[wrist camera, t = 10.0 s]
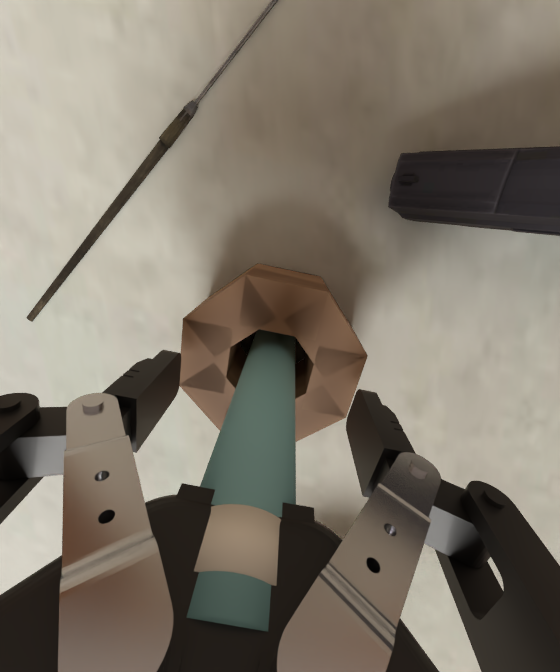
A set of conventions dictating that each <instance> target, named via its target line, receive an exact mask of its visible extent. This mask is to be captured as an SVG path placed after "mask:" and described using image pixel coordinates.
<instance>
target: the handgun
mask: <svg viewBox="0 0 560 672" xmlns="http://www.w3.org/2000/svg"><path fill="white" fill-rule="evenodd" d="M388 207H390V208H391V209H393V210H394V211H396V212H398V213H399V214H400V215H401V216H402V217H403V218H405V219H408V220H412V221H419V222H430V223H440V224H451V225H461V226H469V227H479V228H490V229H501V230H512V231H516V232H525V233H536V234H546V235H557V236H560V147H534V148H509V149H483V150H456V151H428V152H419V153H401V155H400V158H399V160H398V163H397V167H396V171H395V173H394V175H393V178H392V181H391V187H390V196H389V206H388Z"/></svg>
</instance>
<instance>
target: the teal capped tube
mask: <svg viewBox="0 0 560 672" xmlns="http://www.w3.org/2000/svg"><path fill="white" fill-rule="evenodd" d="M200 487H204V488H209V489H215V492H214V496H213V499H212V502H211V504H212V505H215V506H212V507H211V514H210V517H209V521H208V524H207V528H206V531H205V534H204V538H203V541H202V545H201V548H200V551H199V555H198V558H197V562H196V565H195V569H194V571H195V572H199V574H198V578H197V581H196V585H195V588H194V592H193V596H192V599H191V603H190V607H189V610H188V614H187V617H186V618H192V619H198V620H204V621H209V622H215V623H221V624H227V625H233V626H238V627H244V628H250V629H256V630H261V631H267V632H268V627H269V612H270V597H271V585H274V586H276V585H277V565H278V546H279V526H280V522H281V519H280V518H278V517H282V504H283V502H284V503H290V504H295V505H296V464H295V336H290V335H285V334H280V333H275V332H270V331H265V330H261V329H259V330H257V332H256V334H255V337H254V340H253V342H252V345H251V348H250V351H249V353H248V356H247V359H246V362H245V364H244V367H243V370H242V373H241V375H240V378H239V381H238V384H237V386H236V389H235V392H234V395H233V397H232V400H231V403H230V406H229V408H228V411H227V414H226V417H225V419H224V422H223V425H222V428H221V430H220V433H219V436H218V439H217V441H216V444H215V447H214V450H213V452H212V455H211V458H210V461H209V463H208V466H207V469H206V472H205V474H204V477H203V480H202V483H201V485H200Z"/></svg>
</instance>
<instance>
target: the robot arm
mask: <svg viewBox="0 0 560 672" xmlns="http://www.w3.org/2000/svg"><path fill="white" fill-rule="evenodd" d="M180 371H181V354H180V353H177V352H172V351H167V350H162V351H161V352H160V353H159V354H158V355H156V356H155V357H154V358H153V359H149V358H147V359H145V360H142V361H140V362H137V363H136V364H135V365H134V366H132V367H131V368H130V369H129V371H127V372H126V373H124V374H123V376H121V377H120V378H119V379H117V380H116V381H115V382H114V383H113V384H112V385H111V386H109V387H108V388H107V389H106V390H105V391H104V392H102V393H92V394H87V395H84V396H81V397H79V398H77V399H75V400H73V401H72V402H71V403H70V404H69V405H68V407H40V406H39V400H38V398H37V397H36V396H35V395H32V394H28V393H12V394H6V395H2V396H0V524H1V523H2V522H3V521H4V520H5V518H6V517H7V516H8V515H9V514H10V513H11V512H12V511H13V510H14V509H15V508H16V506H17V505H18V504H19V503H20V502H21V501H22V500H23V499H24V498H25V497H26V496H27V494H28V493H29V492H30V491H31V490H32V489H33V488H34V487H35V486H36V485H37V484H38V482H39V481H40V480H41V479H42V478H43V477H44V476H53V475H63V534H62V555H61V556H60V557H58V558H57V559H55V560H54V561H52V562H51V563H49V564H48V565H46V566H44V567H43V568H41V569H40V570H38V571H37V572H35V573H34V574H32V575H31V576H29V577H27V578H26V579H24V580H23V581H21V582H20V583H18V584H17V585H15V586H14V587H12V588H10V589H9V590H7V591H6V592H4V593H3V594H1V595H0V672H439V671H438V669H437V668H436V667H435V665H434V664H433V663H432V661H431V660H430V659H429V657H428V656H427V654H426V653H425V652H424V650H423V649H422V648H421V646H420V645H419V643H418V642H417V641H416V639H415V638H414V637H413V635H412V634H411V633H410V631H409V630H408V628H407V627H406V626H405V624H404V623H403V622H402V620H401V619H400V616H401V613H402V610H403V607H404V603H405V600H406V597H407V594H408V591H409V588H410V585H411V582H412V579H413V576H414V573H415V570H416V567H417V564H418V560H419V557H420V554H421V551H422V548H423V545H424V544H426V545H428V546H430V547H432V548H434V549H435V551H436V554H437V556H438V559H439V561H440V564H441V567H442V569H443V572H444V574H445V577H446V580H447V582H448V585H449V588H450V590H451V593H452V595H453V598H454V601H455V603H456V606H457V608H458V611H459V614H460V616H461V619H462V622H463V624H464V627H465V629H466V632H467V635H468V637H469V640H470V642H471V645H472V648H473V650H474V653H475V656H476V658H477V661H478V663H479V666H480V669H481V671H482V672H560V566H559V564H558V563H557V562H556V560H555V559H554V558H553V556H552V555H551V553H550V552H549V551H548V549H547V548H546V547H545V545H544V544H543V543H542V541H541V540H540V538H539V537H538V536H537V534H536V533H535V532H534V530H533V529H532V528H531V526H530V525H529V523H528V522H527V521H526V519H525V518H524V517H523V515H522V514H521V513H520V511H519V510H518V509H517V507H516V506H515V505H514V503H513V502H512V501H511V500H510V499H509V498H508V497H507V496H506V495H505V494H503V493H502V492H501V491H499V490H498V489H496V488H495V487H493V486H491V485H489V484H487V483H484V482H481V481H471V482H470V483H469V484H468V486H467V487H466V489H463V488H460V487H458V486H456V485H453V484H451V483H449V482H446V481H444V480H442V479H441V476H440V473H439V472H438V470H437V469H436V468H435V466H434V465H433V464H432V463H430V462H429V461H428V460H426V459H425V458H423V457H422V456H420V455H417V454H416V453H415V451H414V450H413V448H412V446H411V444H410V442H409V440H408V438H407V436H406V434H405V433H404V432H403V429H402V427H401V425H400V424H399V421H398V419H397V417H396V416H395V414H394V413H393V412H392V411H391V410H390V409H389V408H388V407H387V406H385V405H382V403H381V401H380V399H379V397H378V395H377V393H375V392H370V391H365V390H360V389H359V390H358V391H357V392H356V395H355V398H354V400H353V403H352V406H351V409H350V412H349V414H348V417H347V422H346V431H347V435H348V439H349V443H350V447H351V451H352V455H353V459H354V463H355V467H356V471H357V475H358V479H359V483H360V487H361V491H362V495H363V496H364V497H369V500H368V501H367V503H366V504H365V506H364V507H363V509H362V511H361V512H360V514H359V515H358V517H357V519H356V520H355V522H354V523H353V525H352V526H351V528H350V530H349V531H348V533H347V534H346V536H345V537H344V539H343V541H342V540H341V539H340V538H339V537H338V536H337V535H336V534H335V533H334V532H332V531H331V530H330V529H328V528H327V527H326V526H324V525H322V524H321V523H319V522H317V521H315V520H314V508H311V507H306V506H300V505H295V504H290V503H284V502H283V504H282V517H278V518H280V519H281V522H280V526H279V546H278V565H277V585H276V586H274V585H271V597H270V612H269V627H268V632H267V631H261V630H256V629H250V628H244V627H238V626H233V625H227V624H221V623H215V622H209V621H204V620H198V619H192V618H186V617H187V614H188V610H189V607H190V603H191V599H192V596H193V592H194V588H195V585H196V581H197V578H198V574H199V572H195V571H194V569H195V565H196V562H197V558H198V555H199V551H200V548H201V545H202V541H203V538H204V534H205V531H206V528H207V524H208V521H209V517H210V514H211V507H212V506H215V505H212V504H211V502H212V499H213V496H214V492H215V489H209V488H204V487H198V486H193V485H188V484H182V485H181V487H180V489H179V491H178V494H177V495H169V496H164V497H160V498H156V499H153V500H151V501H148V502H146V503H145V501H144V497H143V493H142V489H141V484H140V480H139V476H138V472H137V467H136V463H135V459H134V455H133V452H135V453H137V451H138V450H139V448H140V447H141V445H142V444H143V443H144V441H145V440H146V438H147V437H148V435H149V434H150V433H151V431H152V430H153V428H154V427H155V425H156V424H157V423H158V421H159V420H160V418H161V417H162V415H163V414H164V413H165V411H166V410H167V408H168V407H169V405H170V404H171V403H172V401H173V400H174V398H175V397H176V395H177V392H178V389H179V384H180ZM490 557H491V558H492V559H493V561H494V563H495V565H496V567H497V569H498V570H499V572H500V574H501V577H502V580H503V585H504V591H503V590H502V588H501V586H500V584H499V583H498V581H497V579H496V577H495V575H494V573H493V571H492V569H491V567H490V565H489V564H488V562H487V561H488V559H489V558H490Z"/></svg>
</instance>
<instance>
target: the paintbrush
mask: <svg viewBox="0 0 560 672" xmlns="http://www.w3.org/2000/svg"><path fill="white" fill-rule="evenodd" d="M277 1H278V0H272V1H271V2H270V3H269V5H268V6H267V7H266V9H265V10H264V11H263V13H262V14H261V15H260V17H259V18H258V19H257V21H256V22H255V23H254V25H253V26H252V27H251V28H250V30H249V31H248V32H247V34H246V35H245V36H244V38H243V39H242V40H241V42H240V43H239V44H238V46H237V47H236V48H235V50H234V51H233V52H232V54H231V55H230V56H229V57H228V59H227V60H226V61H225V63H224V64H223V65H222V67H221V68H220V69H219V71H218V72H217V73H216V75H215V76H214V77H213V79H212V80H211V81H210V82H209V84H208V85H207V86H206V88H205V89H204V90H203V92H202V93H201V94H200V96H199V97H198V98H197V100H196V101H195V102H193V100H192V101H191V102H190V103H188V104H187V105H186V106H185V107H184V109H183V110H182V111H181V112H180V113H179V115H178V116H177V117H176V118H175V119H174V121H173V122H172V123H171V124H170V125H169V127H168V128H167V129H166V130H165V131H164V132H163V134H162V135H161V136H160V137H159V139H160V140H159V142H158V143H157V144H156V146H155V147H154V148H153V150H152V151H151V152H150V154H149V155H148V156H147V158H146V159H145V160H144V162H143V163H142V164H141V166H140V167H139V168H138V170H137V171H136V172H135V174H134V175H133V176H132V178H131V179H130V180H129V182H128V183H127V184H126V186H125V187H124V188H123V190H122V191H121V192H120V194H119V195H118V196H117V198H116V199H115V200H114V202H113V203H112V204H111V206H110V207H109V208H108V210H107V211H106V212H105V214H104V215H103V216H102V218H101V219H100V220H99V222H98V223H97V224H96V226H95V227H94V228H93V230H92V231H91V232H90V234H89V235H88V236H87V238H86V239H85V240H84V242H83V243H82V244H81V246H80V247H79V248H78V250H77V251H76V252H75V254H74V255H73V256H72V258H71V259H70V260H69V262H68V263H67V264H66V266H65V267H64V268H63V270H62V271H61V272H60V274H59V275H58V276H57V278H56V279H55V280H54V282H53V283H52V284H51V286H50V287H49V288H48V290H47V291H46V292H45V294H44V295H43V296H42V298H41V299H40V300H39V302H38V303H37V304H36V306H35V307H34V308H33V310H32V311H31V312H30V314H29V315H28V316H27V319H28V320H30V321H33V320H34V319H35V317H36V316H37V315H38V314H39V312H40V311H41V310H42V309H43V307H44V306H45V305H46V304H47V302H48V301H49V300H50V298H51V297H52V296H53V295H54V293H55V292H56V291H57V290H58V288H59V287H60V286H61V284H62V283H63V282H64V281H65V279H66V278H67V277H68V276H69V274H70V273H71V272H72V271H73V269H74V268H75V267H76V265H77V264H78V263H79V262H80V260H81V259H82V258H83V257H84V255H85V254H86V253H87V251H88V250H89V249H90V248H91V246H92V245H93V244H94V243H95V241H96V240H97V239H98V237H99V236H100V235H101V234H102V232H103V231H104V230H105V229H106V227H107V226H108V225H109V224H110V222H111V221H112V220H113V218H114V217H115V216H116V215H117V213H118V212H119V211H120V210H121V208H122V207H123V206H124V204H125V203H126V202H127V201H128V199H129V198H130V197H131V196H132V194H133V193H134V192H135V191H136V189H137V188H138V187H139V185H140V184H141V183H142V182H143V180H144V179H145V178H146V177H147V175H148V174H149V173H150V171H151V170H152V169H153V168H154V166H155V165H156V164H157V163H158V161H159V160H160V159H161V157H162V156H163V155H164V154H165V152H166V151H167V150H168V149H169V148H170V147H171V146H172V145H173V143H174V142H175V140H176V139H177V138H178V136H179V135H180V134H181V132H182V131H183V129H184V128H185V127H186V125H187V124H188V123H189V121H190V120H191V119H192V118H193V116H194V114H195V112H196V110H197V108H198V107H197V104H198V103H199V101H200V100H201V99H202V98H203V96H204V95H205V94H206V92H207V91H208V90H209V88H210V87H211V86H212V85H213V83H214V82H215V81H216V79H217V78H218V77H219V76H220V74H221V73H222V72H223V70H224V69H225V68H226V67H227V65H228V64H229V63H230V61H231V60H232V59H233V57H234V56H235V55H236V54H237V52H238V51H239V50H240V48H241V47H242V46H243V45H244V43H245V42H246V41H247V39H248V38H249V37H250V35H251V34H252V33H253V32H254V30H255V29H256V28H257V26H258V25H259V24H260V23H261V21H262V20H263V19H264V17H265V16H266V15H267V14H268V12H269V11H270V10H271V8H272V7H273V6H274V4H275V3H276V2H277Z"/></svg>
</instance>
